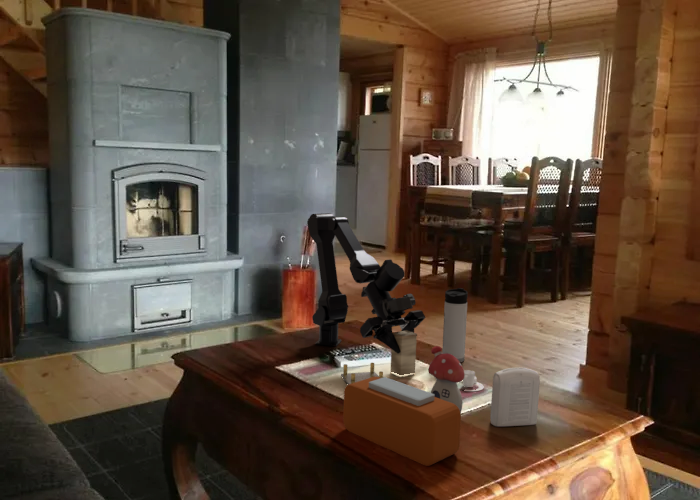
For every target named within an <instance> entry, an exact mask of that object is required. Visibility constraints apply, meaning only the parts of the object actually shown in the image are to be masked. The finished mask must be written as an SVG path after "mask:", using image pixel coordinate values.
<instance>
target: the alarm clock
mask: <svg viewBox="0 0 700 500" xmlns="http://www.w3.org/2000/svg"><path fill="white" fill-rule="evenodd" d="M342 413H343V416H342V417H343V419H342V420H343V425H344V428H345V429H346V430H347V431H349V432H350V433H351V434H354V435H356V436H358V437H360V438H363V439H365V440H367V441H369V442H371V443H374V444H376V445H378V446H380V447H382V448H384V449H387V450H390V451H391V452H394V453H396V454H398V455H400V456H402V457H405V458H407V459H409V460H411V461H413V462H416V463H418V464H421V465H423V466H426V467H429V466H432V465H435V464H436V463H438V462H440V461H443V460H444V459H447V458H449V457H451V456H453V455H455V454H457V452H458V451H459V450H460V443H461V425H462V424H461V423H462V422H461V421H462V411H461V412H460V410H459V408H458V407H457V406H456V405H455V404H453V403H451V402H448V401H445V400H442V399H439V398H436V397H435V395H434V394H432V393H431V392H430V391H429V392H428V391H426V390H424V389H421V388H418V387H414V386H413V385H408V384H405V383H403V382H401V381H396V380H394V379H392V378H389V377H385V376H383V378H380V377H371V378H368V379H365V380H362V381H358V382H355V383H352V384H349V385H347V384H346V386H345V387H344V390H343V412H342Z"/></svg>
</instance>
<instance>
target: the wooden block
mask: <svg viewBox="0 0 700 500" xmlns="http://www.w3.org/2000/svg"><path fill="white" fill-rule="evenodd" d="M392 333H393V335H394V337H395V339H396V341H397V343H398V345H399V348H400V351H401V352H400V353H399V354H398V353H396V352H395V351H394V350H392V349H391V348H390V349H391V350H390V373H391V372H394V373H397V374H399V375H404V374H410V373H415V374H416V359H417V337H418V333H415V332H414V333H413V332H410V331H407V330H405V331H401V330H400V331H396V332H392Z"/></svg>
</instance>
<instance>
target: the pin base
mask: <svg viewBox="0 0 700 500" xmlns="http://www.w3.org/2000/svg"><path fill="white" fill-rule="evenodd" d="M369 364H370V368H369V369H370V370H369V371H364V372H363V371H362V372H349V373H348V366H349V365H348V364H346V363H345V364H343V372H342V373H340V377H341V376H342V377H343V379H344V380H345V381H346V382H347V384H348V385H349V384H352V383H355V382H358V381H362V380H365V379H368V378H371V377H380V378H383V377H384V371H379V373H376V371H375V362H370V363H369ZM343 379H342V380H343ZM344 380H343V381H344ZM345 381H344V382H345ZM347 384H346V385H347Z"/></svg>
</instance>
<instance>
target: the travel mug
mask: <svg viewBox="0 0 700 500" xmlns="http://www.w3.org/2000/svg"><path fill="white" fill-rule="evenodd" d="M444 298H445V299H444V308H443V309H444V310H443V328H442V329H443V331H442V332H443V334H442V335H443V336H442V350H441V352H442V353H443V354H444V353H448V354H451V355H453V356H454V357H456V358H457V359H458V361H459V362H460V363H462V362H464V361H465V359H466V358H465V357H466V356H465V353H466V335H467V313H468V291H467V290H465V288H461V287H457V288H453V289H447V290H446V291H445V293H444Z"/></svg>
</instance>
